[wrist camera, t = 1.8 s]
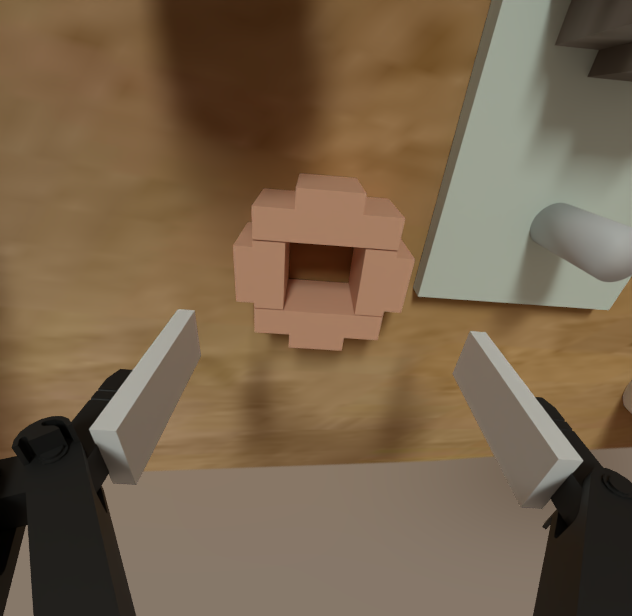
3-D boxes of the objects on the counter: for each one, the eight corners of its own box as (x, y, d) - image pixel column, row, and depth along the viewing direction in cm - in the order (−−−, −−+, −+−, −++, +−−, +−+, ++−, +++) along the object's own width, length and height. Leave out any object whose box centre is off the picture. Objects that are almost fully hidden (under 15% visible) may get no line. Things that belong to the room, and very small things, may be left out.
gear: (250, 308, 28) (238, 344, 24) (246, 168, 22) (229, 182, 18) (379, 317, 28) (390, 353, 24) (408, 182, 22) (430, 199, 18)
